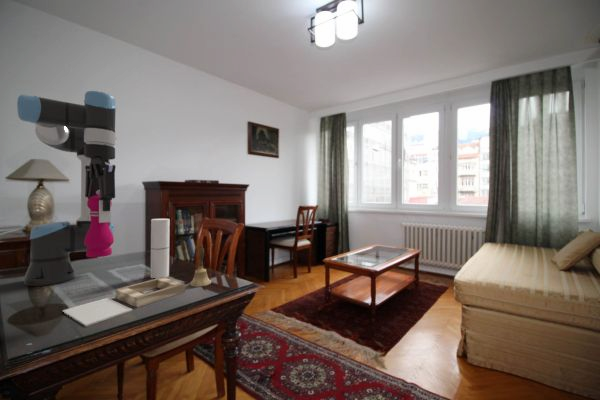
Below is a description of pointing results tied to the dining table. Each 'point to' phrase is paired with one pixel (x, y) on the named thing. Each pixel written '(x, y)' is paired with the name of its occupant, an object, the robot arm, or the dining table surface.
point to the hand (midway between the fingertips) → (99, 221)
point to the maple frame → (138, 299)
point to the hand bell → (200, 271)
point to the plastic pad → (97, 311)
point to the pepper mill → (97, 231)
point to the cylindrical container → (160, 248)
